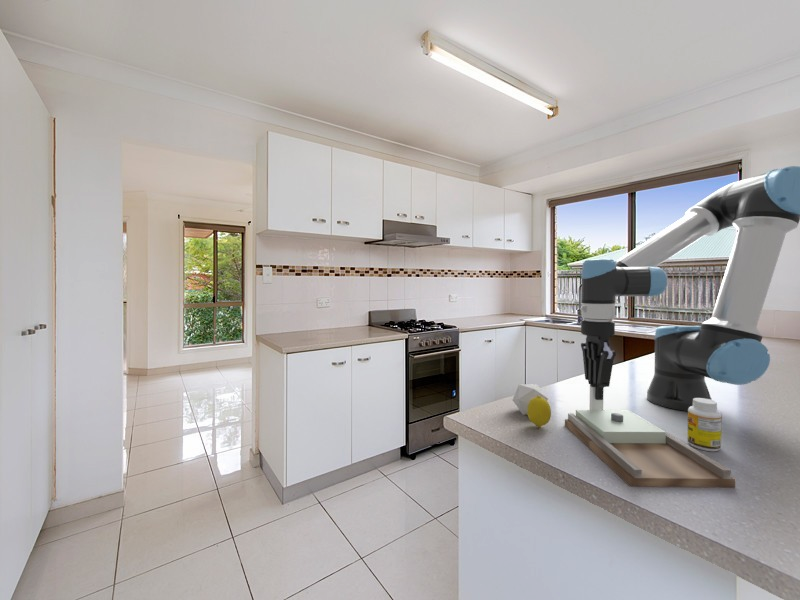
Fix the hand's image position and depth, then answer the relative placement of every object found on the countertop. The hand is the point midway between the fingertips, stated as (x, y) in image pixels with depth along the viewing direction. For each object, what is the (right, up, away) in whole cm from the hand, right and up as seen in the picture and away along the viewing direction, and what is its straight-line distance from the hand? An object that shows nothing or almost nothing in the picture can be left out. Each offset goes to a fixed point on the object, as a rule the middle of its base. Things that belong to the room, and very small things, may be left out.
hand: (596, 410), depth 91 cm
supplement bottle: (+16, -4, -14) cm, 21 cm away
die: (-15, -3, +7) cm, 17 cm away
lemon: (-16, -4, -3) cm, 17 cm away
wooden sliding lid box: (0, -4, -15) cm, 16 cm away
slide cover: (0, -2, -9) cm, 9 cm away
